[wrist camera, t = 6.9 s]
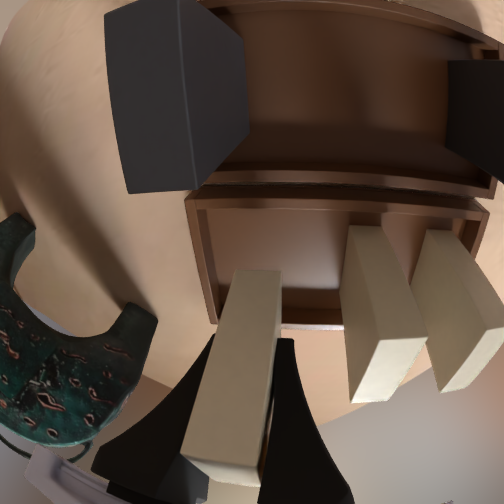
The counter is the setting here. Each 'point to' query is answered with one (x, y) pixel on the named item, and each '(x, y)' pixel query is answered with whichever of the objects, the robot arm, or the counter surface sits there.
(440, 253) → the cream book
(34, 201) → the counter surface
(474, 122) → the charcoal book
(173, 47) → the charcoal book
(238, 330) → the cream book
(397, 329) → the cream book
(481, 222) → the shallow brown tray
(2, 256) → the green mottled arch
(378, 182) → the dark wooden tray
